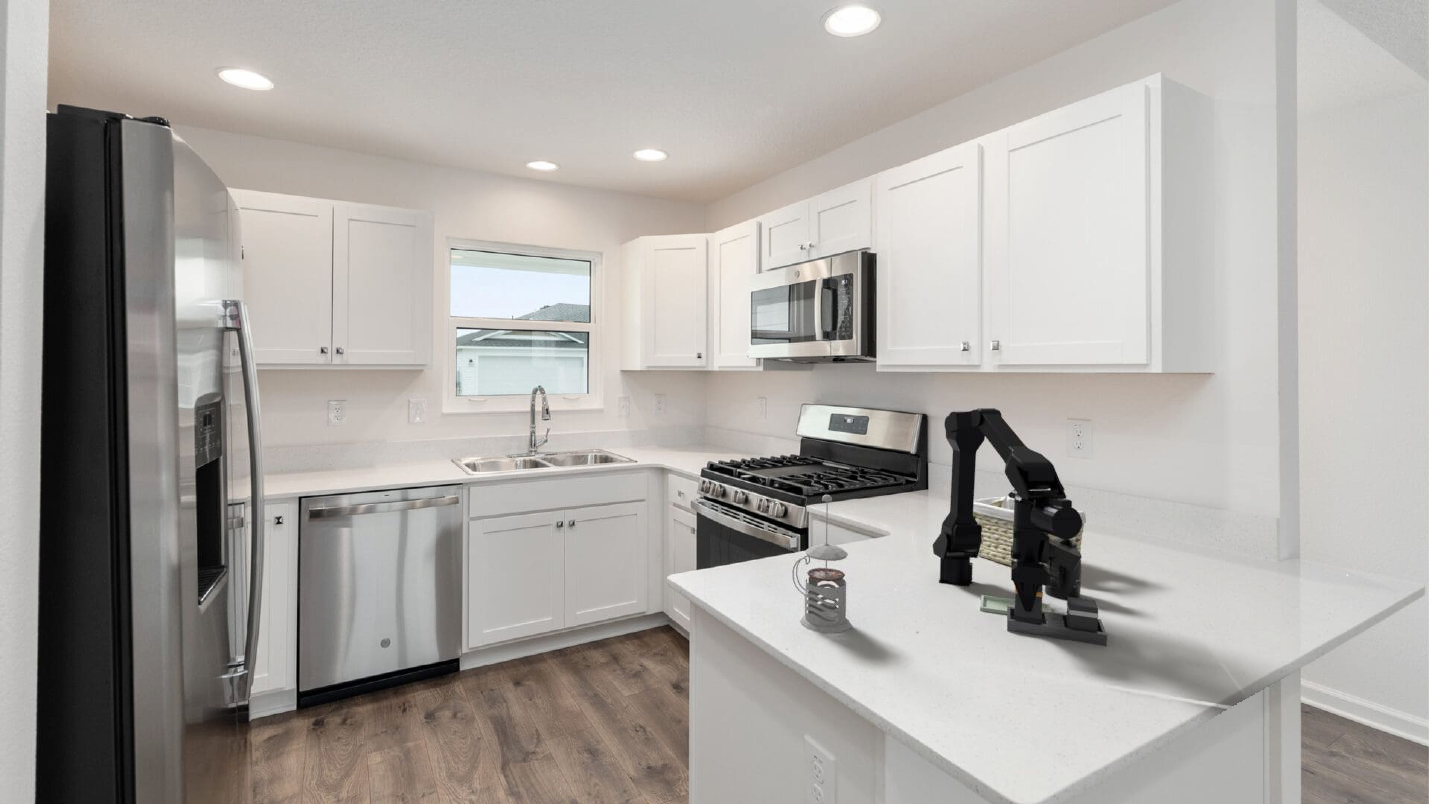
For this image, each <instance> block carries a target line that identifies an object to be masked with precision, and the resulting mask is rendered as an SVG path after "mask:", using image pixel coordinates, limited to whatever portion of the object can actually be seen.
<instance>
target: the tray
mask: <svg viewBox="0 0 1429 804" xmlns="http://www.w3.org/2000/svg"><path fill="white" fill-rule="evenodd" d="M1007 606H1009V607H1015V598H1007V597H1000V596H993V595H987V594H986V595H984V594H981V596H980V603H979V611H980V612H986V613H992V614H999V615H1006V616H1007ZM1042 611H1045V612H1052V609H1051V604H1050V603H1043V602H1042Z"/></svg>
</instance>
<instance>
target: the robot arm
mask: <svg viewBox="0 0 1429 804" xmlns="http://www.w3.org/2000/svg"><path fill="white" fill-rule="evenodd" d="M944 430H945V439H946V441H947V442H948V444H949V445H950V447H951V449H952V464H951V481H950V485H951V486H950V501H949V502H950V503H949V506H950V507H949V513H948V515H947V516H946V517H945V518H944V520H943V521H942V523H941V530H940V533H939V535H938V537H937V538H936V539H935V540H934V542H933V543H932V550H933V555H935V556H937V557H938V558H940V560H939V563H940V565H939V579H938V583H939V584H945V585H952V586H961V587H970V584H972V583H973V569H974V568H973V567H974V565H973V564H974V563H973V562H971V559H978V557H979V556H978V554H979V550H980V546H981V543H982V539H981V533H982V527H981V525H979V524H978V523H977V521H976V520H975V518H974V516H973V507H974V500H975V483H976V462H977V461H976V460H977V452H978V450H979V448H980V447H981V446H982V444H983V443H984V441H985V439H987V441H988V442H989V443H990V445H991V446H992V447H993V449H994V450H995V451H996V452H997V454H998V455H999V456H1000V457H1001V459H1002V460H1003V462H1004V464H1005V467H1004V475H1006V477H1007V479H1008V482H1009V483H1010V485H1011V486H1012V487H1013V490H1011V491H1010V492H1009V493H1008V494H1007V496H1009V497H1010V498H1014V527H1013V545H1012V546H1011V558H1013V559H1015V560H1016V561H1011V566H1010V567H1011V569H1010V571H1011V573H1010V577H1011V581H1012V582H1013V583H1014V584H1013V585H1014V588H1015V587H1016V590H1017V592H1018V595H1019V597H1020V600H1021V602H1022V605H1023V607H1024V610H1025V611H1026V612H1031V611H1032V608H1033V604H1034V601H1035V597H1036V594H1037V591H1038V588H1039V587H1040V586H1042V587H1043V586H1044V587H1045V586H1048V585H1050V571H1049V569H1048V568H1047V567H1046V566H1045V565H1044V564H1040V563H1039V562H1041V563H1045V564H1049V560H1050V561H1052V562H1054V563H1056V564H1059V565H1061V566H1063V567H1065V568H1067V570H1070V571H1072V572H1075V570H1076V568H1077V566H1078V564H1079V562H1080V560H1081V561H1082V558H1083V556H1082V554H1081V552H1079V551H1078V550H1077V549H1073V545H1072V541H1071V540H1070V539H1072V538H1073V537H1075V536H1076V535H1077V534H1078V533H1079V532H1080V530H1081V527H1082V519H1081V517H1080V514H1079V512H1078V511H1079V510H1077V509H1075V508H1074V507H1073V501H1072V500H1071V499H1067V495H1066V492H1065V491H1066V490H1065V487H1064V485H1063V484H1062V483H1061V480H1060V478H1059V476H1058V473H1057V471H1056V468H1055V465H1054V464H1053V463H1052V462H1051V461H1050V460H1049V459H1048V458H1047V457H1045V456H1044V455H1043V454H1042V453H1040V452H1037V451H1035V450H1033V449H1031V448H1029V447H1028V446H1026V444H1025V443H1024V441H1023V440H1021V438H1020V436H1019V435H1017V433H1016V432H1015V431H1014V430H1013V428H1011V426H1010V425H1009V424H1008V423H1007V421H1006V420H1005V419H1004V418H1003V416H1002V412H1001V411H1000V410H999V409H997V408H995V407H992V408H991V407H988V408H987V407H986V408H985V407H982V408H976V409H973V410H969V411H968V410H967V411H951V412H950V413H949V414H948V415H947V416H946V417H945V419H944ZM1048 534H1051V535H1053V536H1056V537H1058V538H1061V539H1060V540H1059V541H1056V540H1055V541H1054V540H1051V539H1049V536H1048Z"/></svg>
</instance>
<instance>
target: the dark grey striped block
mask: <svg viewBox="0 0 1429 804" xmlns="http://www.w3.org/2000/svg"><path fill="white" fill-rule="evenodd" d="M1043 590H1044V589H1043V585H1042V586H1040V587H1039V588H1038V591H1037V594H1036V597H1035V601H1034V604H1033V608H1032V611H1031V612H1026V611H1025V610H1024V607H1023V605H1022V602H1021V600H1020V597H1019V595H1018V592H1017V590H1016V587H1015V586H1014V599H1015V616H1021V617H1028V618H1035V619H1042V603H1043V595H1044V593H1043Z"/></svg>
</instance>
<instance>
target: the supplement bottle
mask: <svg viewBox="0 0 1429 804" xmlns="http://www.w3.org/2000/svg"><path fill="white" fill-rule="evenodd" d="M1054 541H1055V540H1054ZM1056 541H1059V540H1056ZM1072 545H1073V549H1077V543H1075V542H1072ZM1046 567H1047V568H1048V569H1049V571H1050V585H1048V586H1045V585H1044V593H1045V594H1046V595H1047V596H1049V597H1052V598H1055V599H1058V600H1065V601H1068V597H1074V598H1081V590H1082V589H1081V585H1082V584H1081V583H1082V559H1081V560H1080V562H1079V564H1078V566H1077V568H1076V570H1075V572H1072V571H1070V570H1067V568H1065V567H1063V566H1061V565H1059V564H1056V563H1054V562H1052V561H1050V560H1049V564H1046Z"/></svg>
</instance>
